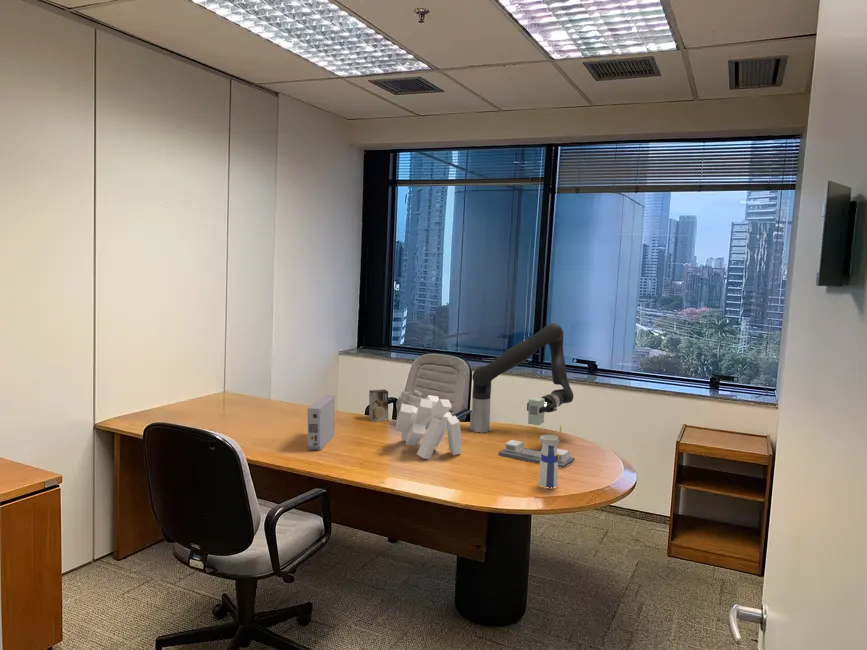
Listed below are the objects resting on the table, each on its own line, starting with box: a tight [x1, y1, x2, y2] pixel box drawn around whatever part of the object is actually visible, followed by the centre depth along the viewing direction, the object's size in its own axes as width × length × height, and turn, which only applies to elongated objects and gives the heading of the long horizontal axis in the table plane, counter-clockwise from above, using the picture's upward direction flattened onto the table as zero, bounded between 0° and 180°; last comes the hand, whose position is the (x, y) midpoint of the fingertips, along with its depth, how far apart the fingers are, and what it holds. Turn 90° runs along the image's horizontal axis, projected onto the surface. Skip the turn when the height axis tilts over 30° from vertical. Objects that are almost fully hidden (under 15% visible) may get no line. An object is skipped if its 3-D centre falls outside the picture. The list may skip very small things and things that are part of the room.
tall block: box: [527, 396, 545, 426], centre depth 282 cm, size 5×6×11 cm
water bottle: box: [537, 424, 562, 488], centre depth 248 cm, size 8×9×25 cm
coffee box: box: [368, 388, 389, 423], centre depth 342 cm, size 9×6×16 cm
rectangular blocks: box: [504, 439, 570, 462], centre depth 282 cm, size 28×7×3 cm, turn 56°
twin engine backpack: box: [395, 389, 427, 420], centre depth 332 cm, size 18×19×20 cm
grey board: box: [497, 447, 576, 469], centre depth 282 cm, size 31×13×2 cm, turn 56°
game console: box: [307, 394, 335, 451], centre depth 299 cm, size 6×27×20 cm, turn 174°
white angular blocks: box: [394, 394, 463, 460], centre depth 287 cm, size 35×30×35 cm
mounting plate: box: [503, 447, 570, 463], centre depth 282 cm, size 29×7×1 cm, turn 56°
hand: (534, 409), depth 280 cm, fingers closed on tall block, 5 cm apart
